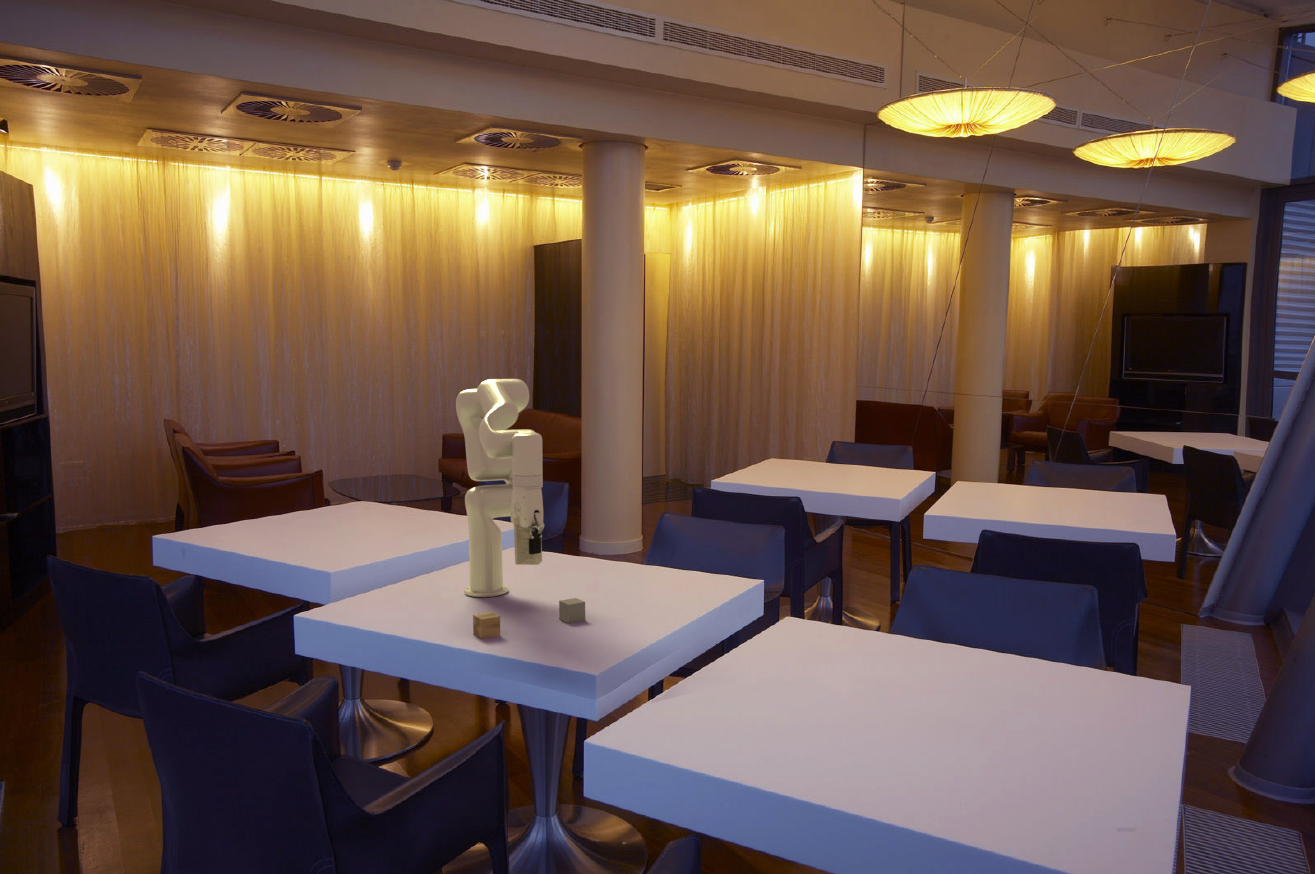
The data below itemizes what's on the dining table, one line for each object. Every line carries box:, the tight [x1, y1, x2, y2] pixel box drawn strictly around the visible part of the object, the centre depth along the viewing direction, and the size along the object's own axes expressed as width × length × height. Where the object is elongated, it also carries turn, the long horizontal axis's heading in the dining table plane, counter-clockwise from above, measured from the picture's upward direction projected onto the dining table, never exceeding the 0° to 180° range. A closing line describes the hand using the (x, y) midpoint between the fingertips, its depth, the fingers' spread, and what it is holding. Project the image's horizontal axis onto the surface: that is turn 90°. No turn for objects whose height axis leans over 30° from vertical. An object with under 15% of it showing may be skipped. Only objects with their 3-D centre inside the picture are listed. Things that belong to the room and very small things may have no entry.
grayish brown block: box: [558, 597, 586, 624], centre depth 236 cm, size 5×5×5 cm
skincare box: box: [513, 517, 543, 566], centre depth 229 cm, size 6×4×12 cm
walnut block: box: [472, 611, 501, 640], centre depth 223 cm, size 5×5×5 cm
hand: (528, 550), depth 229 cm, fingers closed on skincare box, 7 cm apart
